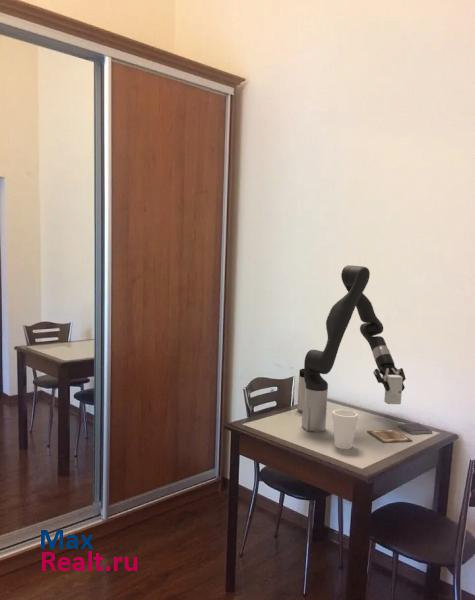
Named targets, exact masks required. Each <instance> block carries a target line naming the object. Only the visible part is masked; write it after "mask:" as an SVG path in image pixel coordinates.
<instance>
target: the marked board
mask: <svg viewBox="0 0 475 600" xmlns="http://www.w3.org/2000/svg"><path fill="white" fill-rule="evenodd" d="M366 433H367V434H369V435H371V436H372V437H374V438H375V439H376V440H378V441H379V442H380V443H383V444H391V443H392V444H393V443H395V444H396V443H406V442H408V443H409V442H410V443H411V442H413V440H412V439H411V438H410V437H408V436H407V435H404V434H403V433H402V432H400V431H398V430H397V429H379V430H378V429H377V430H375V429H374V430H367V431H366Z"/></svg>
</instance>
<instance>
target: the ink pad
mask: <svg viewBox="0 0 475 600" xmlns="http://www.w3.org/2000/svg"><path fill="white" fill-rule="evenodd" d="M397 427H398V428H400V429H402V430H403V431H405V432H407V433H408V434H410V435H424V434H433V430H432V429H431V428H428V426H425V425H424V424H421V423H419V422H411V423H410V422H409V423H398V424H397Z"/></svg>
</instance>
